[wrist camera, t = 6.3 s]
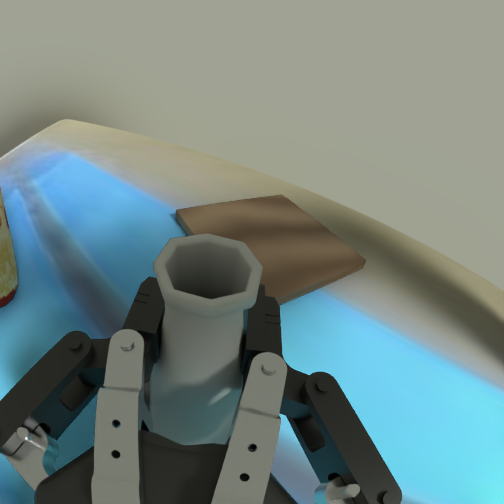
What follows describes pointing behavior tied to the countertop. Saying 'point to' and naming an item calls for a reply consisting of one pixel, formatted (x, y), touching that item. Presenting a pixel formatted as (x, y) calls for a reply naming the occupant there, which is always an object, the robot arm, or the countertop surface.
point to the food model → (6, 260)
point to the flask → (201, 336)
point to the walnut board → (277, 242)
